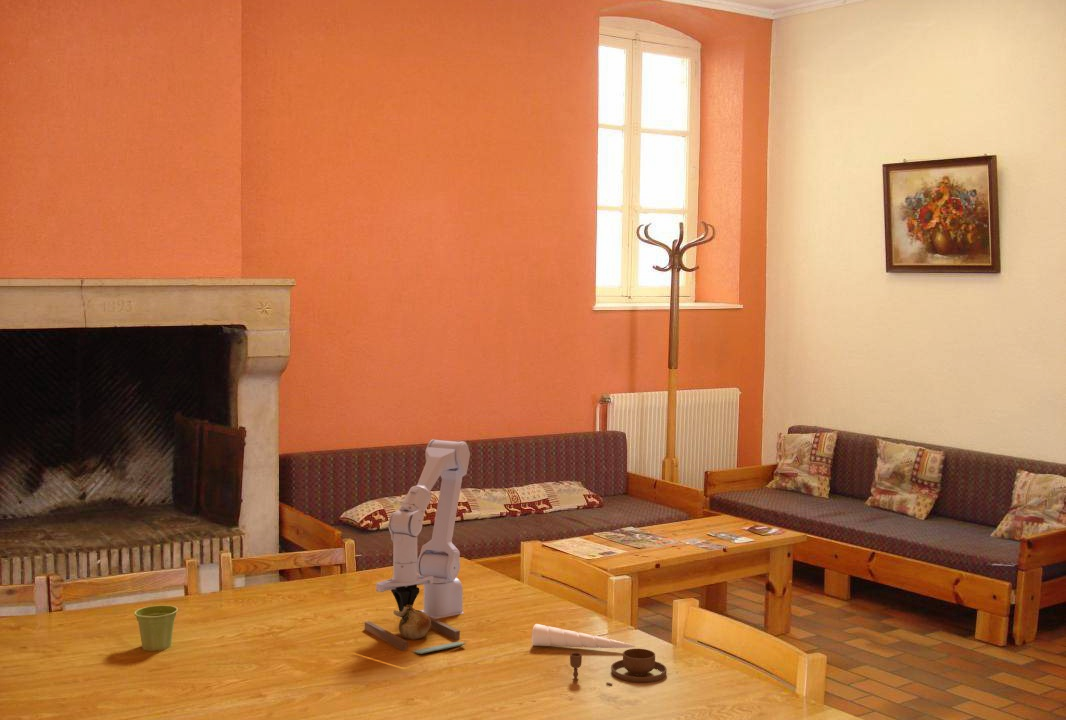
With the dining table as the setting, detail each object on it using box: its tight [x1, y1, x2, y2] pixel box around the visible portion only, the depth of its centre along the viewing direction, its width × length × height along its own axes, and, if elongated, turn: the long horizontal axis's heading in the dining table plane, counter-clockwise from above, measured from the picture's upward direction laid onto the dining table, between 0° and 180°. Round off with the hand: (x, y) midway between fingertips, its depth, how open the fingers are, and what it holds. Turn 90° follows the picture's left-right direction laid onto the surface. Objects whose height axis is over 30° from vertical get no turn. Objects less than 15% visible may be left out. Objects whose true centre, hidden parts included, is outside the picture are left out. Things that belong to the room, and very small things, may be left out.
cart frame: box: [364, 616, 461, 652], centre depth 259 cm, size 15×18×2 cm
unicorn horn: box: [531, 623, 636, 649], centre depth 250 cm, size 5×24×5 cm
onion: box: [393, 605, 431, 640], centre depth 257 cm, size 8×8×8 cm
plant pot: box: [133, 604, 179, 652], centre depth 249 cm, size 9×9×9 cm
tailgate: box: [411, 641, 467, 655], centre depth 249 cm, size 1×12×5 cm
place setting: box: [569, 648, 667, 687], centre depth 236 cm, size 18×20×6 cm
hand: (405, 617), depth 261 cm, fingers closed, pressing on onion
